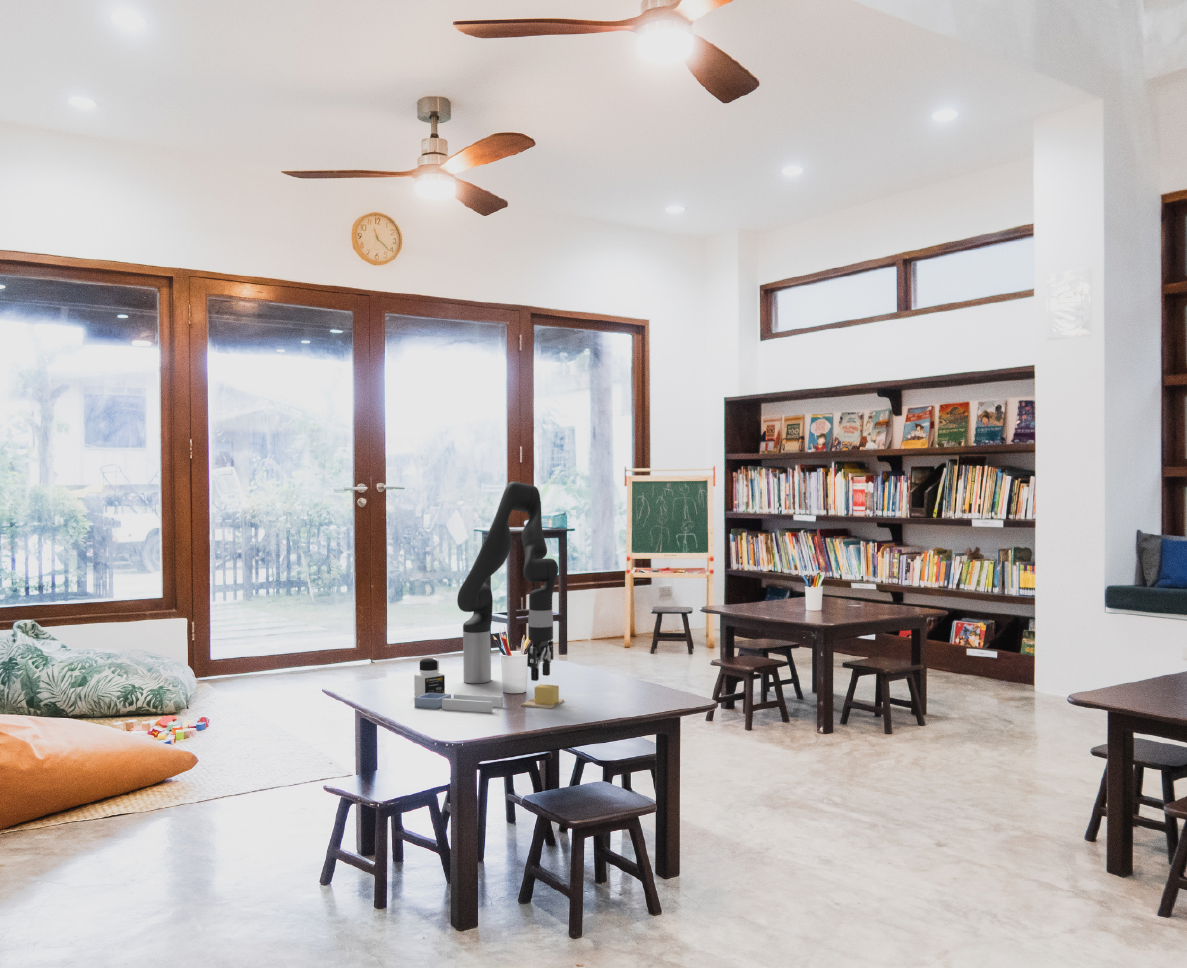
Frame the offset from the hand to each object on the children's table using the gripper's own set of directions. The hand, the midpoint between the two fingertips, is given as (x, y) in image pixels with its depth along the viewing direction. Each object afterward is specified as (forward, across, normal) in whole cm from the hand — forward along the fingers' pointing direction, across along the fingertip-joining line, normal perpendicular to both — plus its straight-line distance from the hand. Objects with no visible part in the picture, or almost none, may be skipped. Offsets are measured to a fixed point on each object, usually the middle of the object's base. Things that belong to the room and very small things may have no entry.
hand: (540, 677), depth 284 cm
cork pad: (+8, 0, -1) cm, 8 cm away
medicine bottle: (+9, 0, +38) cm, 39 cm away
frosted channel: (+8, -11, +17) cm, 22 cm away
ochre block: (+7, 0, -2) cm, 8 cm away
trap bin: (+8, -11, +31) cm, 34 cm away
